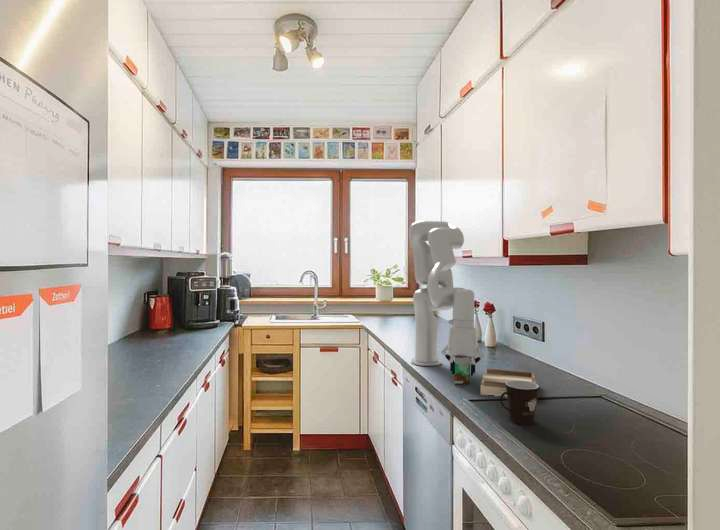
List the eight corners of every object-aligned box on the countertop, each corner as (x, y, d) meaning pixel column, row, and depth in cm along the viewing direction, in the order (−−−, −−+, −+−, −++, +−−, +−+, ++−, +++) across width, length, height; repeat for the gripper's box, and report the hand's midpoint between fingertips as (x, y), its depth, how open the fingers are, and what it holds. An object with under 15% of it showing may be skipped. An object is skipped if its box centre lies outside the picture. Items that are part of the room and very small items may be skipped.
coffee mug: (530, 415, 129) (530, 380, 129) (544, 426, 120) (544, 389, 120) (490, 415, 128) (490, 380, 128) (500, 427, 120) (501, 389, 119)
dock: (484, 380, 165) (484, 368, 165) (534, 385, 159) (534, 372, 159) (480, 394, 148) (480, 381, 148) (536, 400, 142) (536, 386, 142)
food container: (472, 387, 155) (473, 358, 155) (454, 386, 157) (454, 357, 157) (471, 378, 168) (472, 351, 167) (454, 377, 169) (455, 350, 169)
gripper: (437, 324, 161) (436, 374, 161) (487, 327, 155) (486, 379, 156) (440, 321, 168) (440, 369, 169) (488, 323, 163) (488, 373, 163)
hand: (462, 373), depth 162 cm, fingers closed on food container, 5 cm apart
